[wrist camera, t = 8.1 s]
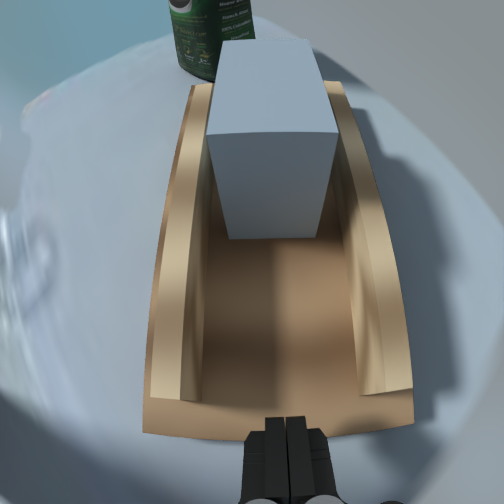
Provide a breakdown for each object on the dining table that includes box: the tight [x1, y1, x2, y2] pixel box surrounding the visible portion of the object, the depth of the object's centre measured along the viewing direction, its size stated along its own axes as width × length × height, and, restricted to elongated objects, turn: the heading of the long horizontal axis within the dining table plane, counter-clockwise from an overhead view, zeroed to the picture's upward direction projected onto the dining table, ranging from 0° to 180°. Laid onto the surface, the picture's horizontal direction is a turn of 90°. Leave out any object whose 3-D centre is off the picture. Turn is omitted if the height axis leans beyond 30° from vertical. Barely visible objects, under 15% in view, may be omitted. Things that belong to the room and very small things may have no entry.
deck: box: [143, 81, 414, 441], centre depth 19 cm, size 28×14×7 cm, turn 0°
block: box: [206, 39, 339, 239], centre depth 17 cm, size 9×5×8 cm, turn 0°
